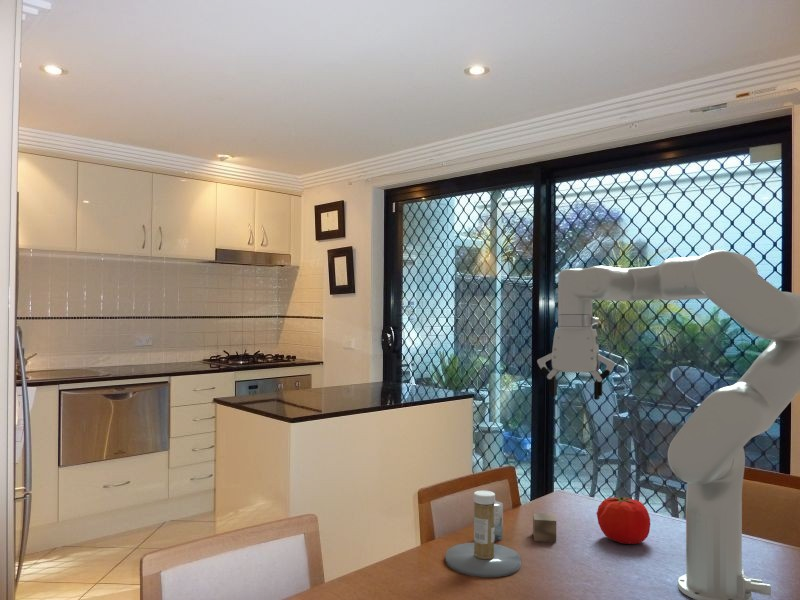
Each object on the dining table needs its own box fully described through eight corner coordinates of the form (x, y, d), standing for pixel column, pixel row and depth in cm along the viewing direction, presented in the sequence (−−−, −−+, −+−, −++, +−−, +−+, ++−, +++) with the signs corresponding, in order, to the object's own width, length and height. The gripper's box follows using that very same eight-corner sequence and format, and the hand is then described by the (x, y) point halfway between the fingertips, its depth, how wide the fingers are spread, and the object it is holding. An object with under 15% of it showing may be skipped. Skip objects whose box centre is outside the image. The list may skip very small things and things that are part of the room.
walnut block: (553, 535, 148) (553, 514, 148) (556, 542, 143) (556, 520, 143) (532, 533, 148) (532, 513, 149) (534, 541, 143) (534, 519, 144)
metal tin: (505, 536, 146) (505, 502, 147) (498, 542, 142) (499, 508, 142) (485, 532, 149) (485, 499, 149) (478, 539, 144) (478, 504, 144)
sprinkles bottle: (499, 557, 130) (499, 493, 130) (482, 561, 127) (483, 496, 128) (484, 550, 134) (485, 488, 134) (468, 554, 131) (469, 491, 132)
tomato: (653, 538, 146) (653, 494, 146) (646, 553, 136) (646, 507, 136) (602, 529, 152) (602, 487, 152) (592, 543, 142) (592, 499, 142)
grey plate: (529, 555, 134) (529, 550, 134) (507, 583, 120) (507, 577, 120) (461, 543, 141) (461, 537, 141) (433, 567, 127) (433, 561, 127)
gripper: (617, 323, 139) (617, 398, 139) (541, 322, 147) (541, 393, 147) (612, 323, 133) (612, 402, 132) (533, 322, 141) (533, 396, 140)
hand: (575, 397), depth 139 cm, fingers open, 9 cm apart
